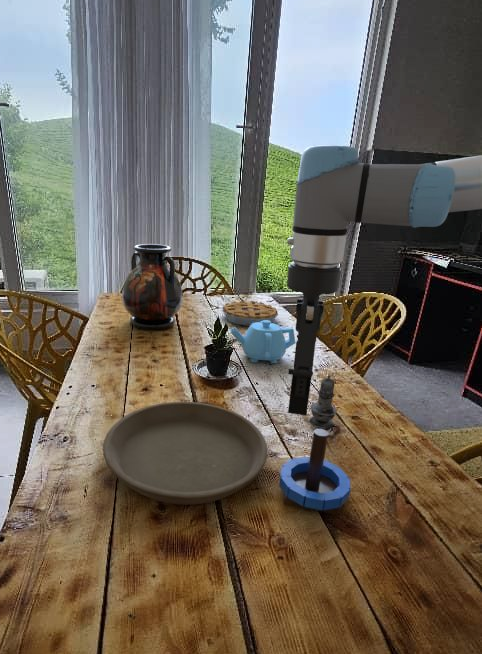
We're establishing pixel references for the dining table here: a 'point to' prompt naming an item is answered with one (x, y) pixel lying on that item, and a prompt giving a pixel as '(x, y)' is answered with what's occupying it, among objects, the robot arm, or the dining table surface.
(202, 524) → the dining table surface
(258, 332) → the teapot
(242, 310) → the pie
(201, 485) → the plant saucer
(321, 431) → the peg stand
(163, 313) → the amphora vase
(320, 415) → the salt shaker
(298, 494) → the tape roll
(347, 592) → the dining table surface
